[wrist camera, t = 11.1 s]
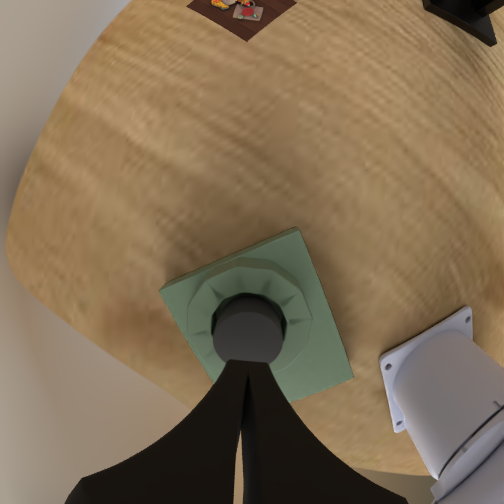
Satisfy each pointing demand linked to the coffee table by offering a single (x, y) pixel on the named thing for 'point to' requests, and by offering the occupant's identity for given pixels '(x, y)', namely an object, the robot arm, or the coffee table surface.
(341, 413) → the coffee table surface
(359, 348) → the coffee table surface
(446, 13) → the bracket
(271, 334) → the button
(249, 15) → the diorama
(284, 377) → the control block
